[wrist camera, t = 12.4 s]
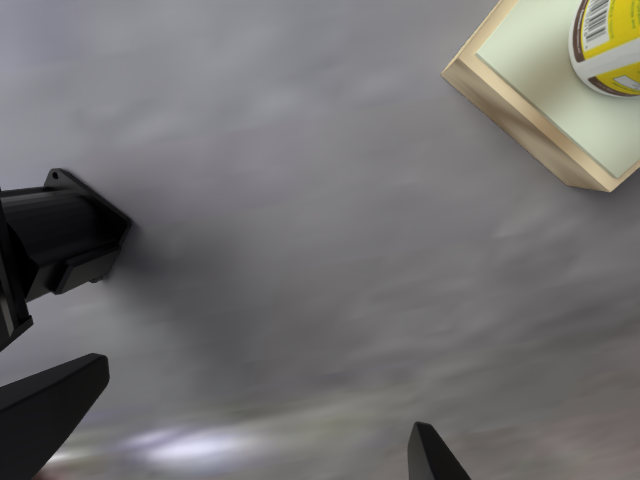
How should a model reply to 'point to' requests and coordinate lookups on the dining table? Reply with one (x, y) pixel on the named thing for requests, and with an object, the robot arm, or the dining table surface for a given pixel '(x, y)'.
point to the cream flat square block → (547, 94)
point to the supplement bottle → (607, 46)
